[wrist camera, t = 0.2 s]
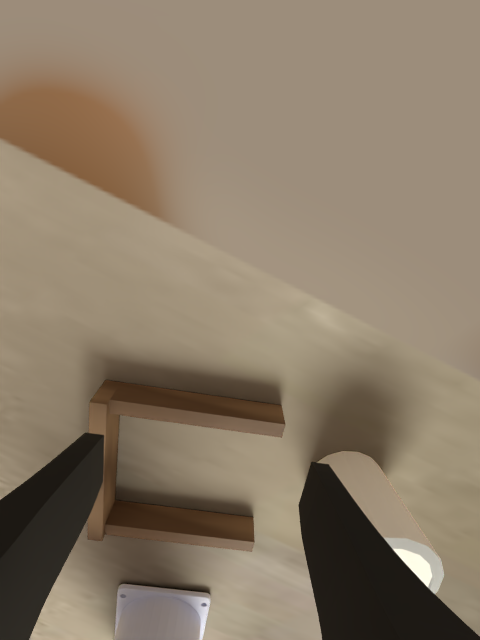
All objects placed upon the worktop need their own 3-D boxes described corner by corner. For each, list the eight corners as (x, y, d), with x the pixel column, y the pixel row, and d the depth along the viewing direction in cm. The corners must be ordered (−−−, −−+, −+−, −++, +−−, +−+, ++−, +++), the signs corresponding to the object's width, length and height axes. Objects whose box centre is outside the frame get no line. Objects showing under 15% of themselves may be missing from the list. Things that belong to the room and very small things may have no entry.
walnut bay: (251, 526, 26) (252, 558, 24) (101, 508, 26) (87, 539, 23) (281, 405, 22) (286, 429, 20) (105, 379, 22) (89, 402, 19)
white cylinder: (315, 435, 23) (344, 528, 17) (405, 454, 24) (468, 552, 17) (286, 505, 26) (302, 612, 19) (369, 521, 26) (412, 630, 20)
